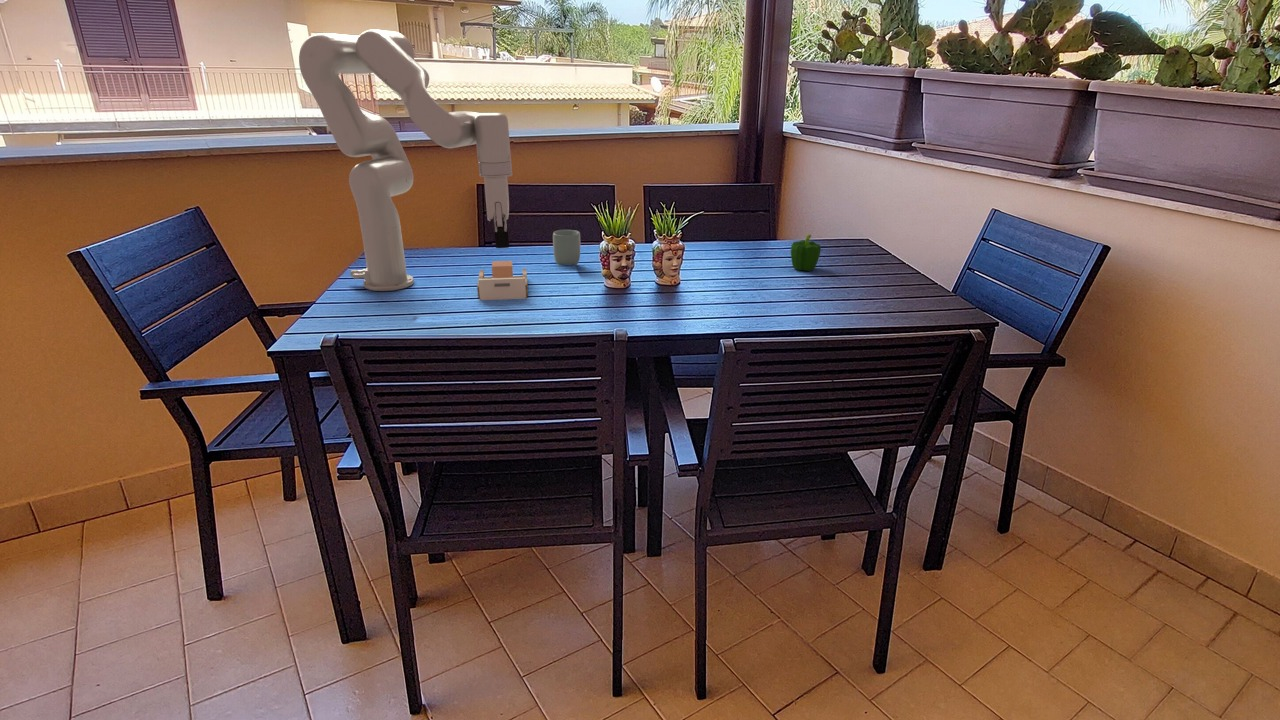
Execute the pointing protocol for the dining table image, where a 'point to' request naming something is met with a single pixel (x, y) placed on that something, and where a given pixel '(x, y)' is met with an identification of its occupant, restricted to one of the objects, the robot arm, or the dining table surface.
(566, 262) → the cup
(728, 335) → the dining table surface
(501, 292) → the panel
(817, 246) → the bell pepper
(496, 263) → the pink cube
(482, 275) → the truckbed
